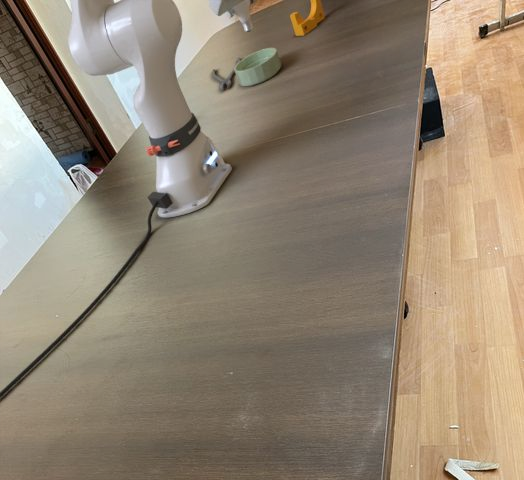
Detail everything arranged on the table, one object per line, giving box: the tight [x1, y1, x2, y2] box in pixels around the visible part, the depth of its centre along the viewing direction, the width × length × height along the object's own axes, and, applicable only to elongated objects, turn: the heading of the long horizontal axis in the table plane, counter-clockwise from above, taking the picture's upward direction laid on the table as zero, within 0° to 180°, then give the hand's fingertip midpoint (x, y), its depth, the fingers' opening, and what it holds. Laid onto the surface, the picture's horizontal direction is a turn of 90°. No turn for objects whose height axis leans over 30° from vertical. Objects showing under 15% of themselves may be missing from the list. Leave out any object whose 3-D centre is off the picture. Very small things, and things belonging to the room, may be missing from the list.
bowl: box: [233, 47, 282, 87], centre depth 154 cm, size 14×14×5 cm
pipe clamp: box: [289, 0, 326, 37], centre depth 167 cm, size 12×4×6 cm, turn 130°
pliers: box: [211, 57, 242, 92], centre depth 168 cm, size 11×1×25 cm
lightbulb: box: [232, 0, 254, 33], centre depth 139 cm, size 6×6×11 cm
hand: (240, 8), depth 139 cm, fingers closed on lightbulb, 6 cm apart
